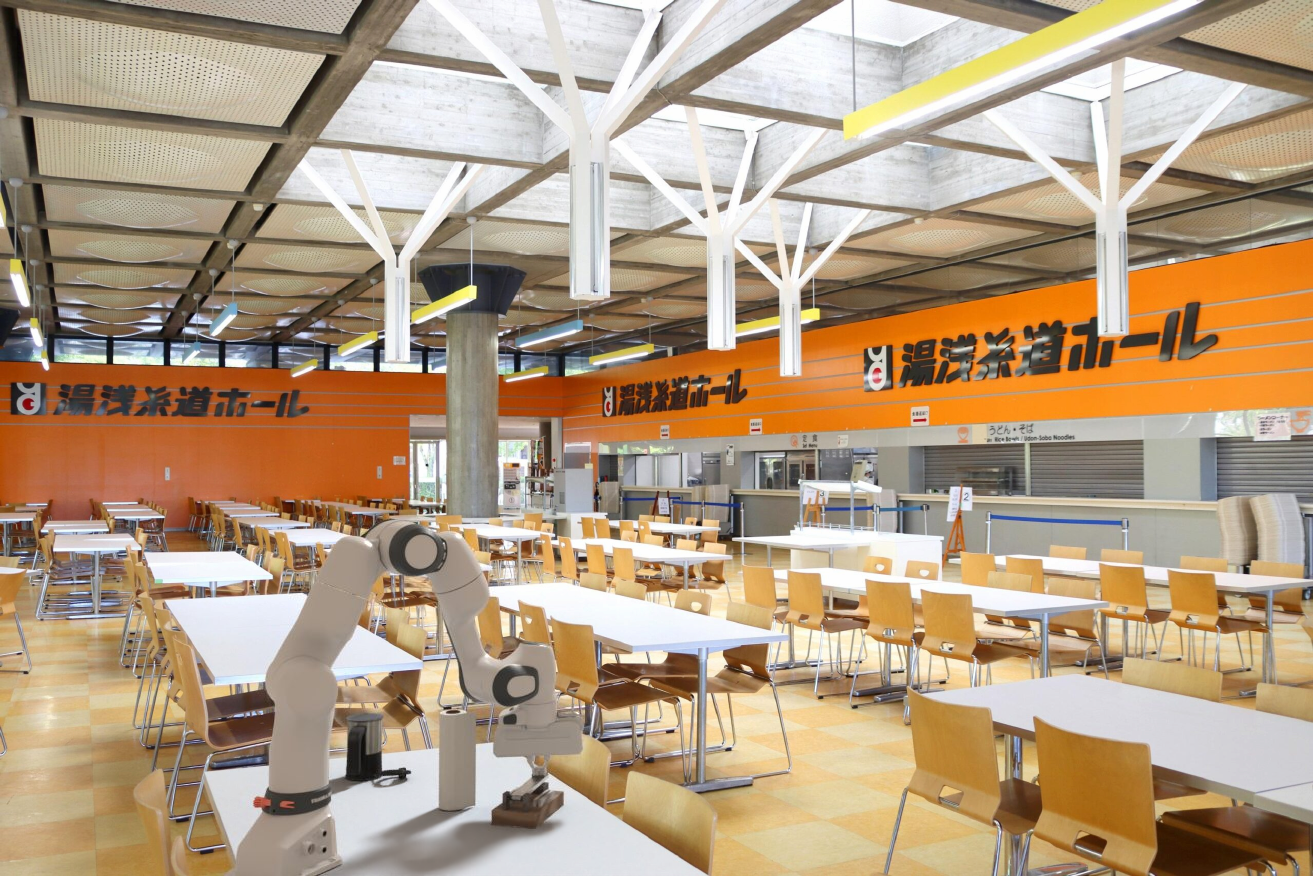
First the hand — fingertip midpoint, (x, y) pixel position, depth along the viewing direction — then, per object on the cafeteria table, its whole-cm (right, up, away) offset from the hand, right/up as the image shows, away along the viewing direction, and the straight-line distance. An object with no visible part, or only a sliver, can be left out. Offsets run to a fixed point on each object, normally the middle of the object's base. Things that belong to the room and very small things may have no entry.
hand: (539, 775), depth 229 cm
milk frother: (-43, -9, +24) cm, 50 cm away
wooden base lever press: (-2, -7, -5) cm, 9 cm away
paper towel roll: (-19, -8, 0) cm, 21 cm away
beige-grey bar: (-2, -2, -5) cm, 5 cm away
